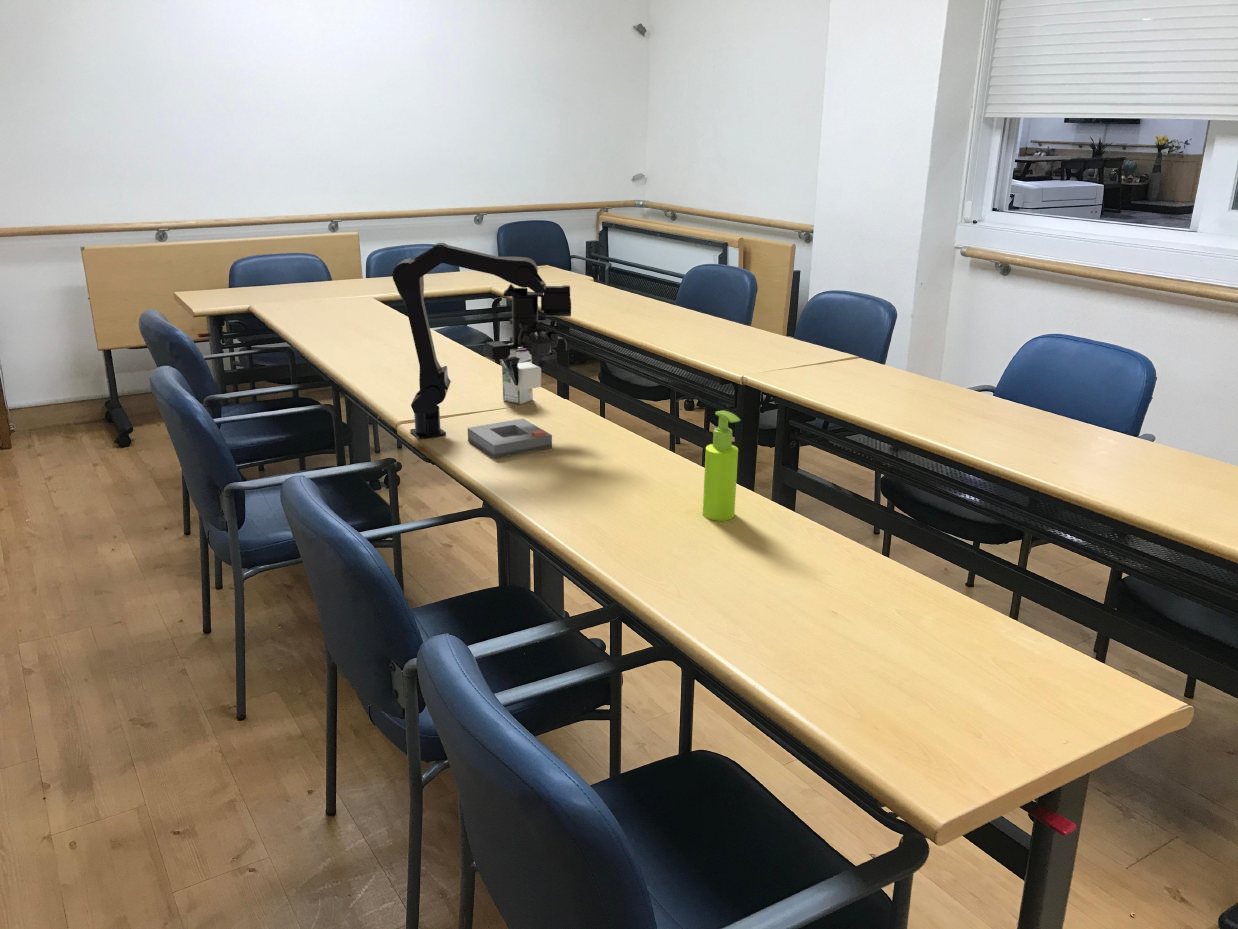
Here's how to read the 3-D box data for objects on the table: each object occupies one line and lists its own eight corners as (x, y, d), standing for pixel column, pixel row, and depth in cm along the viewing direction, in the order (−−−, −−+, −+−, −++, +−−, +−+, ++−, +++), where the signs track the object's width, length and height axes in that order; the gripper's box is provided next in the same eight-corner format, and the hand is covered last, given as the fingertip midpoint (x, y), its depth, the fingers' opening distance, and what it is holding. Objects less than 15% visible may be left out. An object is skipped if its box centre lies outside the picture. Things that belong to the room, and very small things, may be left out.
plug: (510, 389, 219) (510, 364, 217) (528, 387, 221) (528, 361, 219) (523, 396, 214) (522, 370, 212) (541, 393, 217) (541, 367, 214)
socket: (468, 440, 215) (467, 424, 214) (523, 430, 222) (523, 415, 221) (494, 458, 204) (494, 442, 203) (552, 447, 211) (551, 432, 210)
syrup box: (533, 399, 247) (532, 344, 242) (519, 405, 242) (518, 349, 237) (516, 396, 249) (515, 341, 244) (502, 401, 245) (500, 346, 240)
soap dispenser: (716, 525, 173) (722, 420, 166) (696, 511, 179) (701, 409, 172) (743, 519, 176) (750, 415, 169) (722, 506, 181) (728, 405, 174)
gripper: (504, 326, 200) (505, 398, 206) (579, 318, 210) (579, 387, 216) (480, 317, 209) (482, 385, 214) (554, 309, 219) (554, 375, 224)
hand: (525, 383), depth 217 cm, fingers closed on plug, 5 cm apart
